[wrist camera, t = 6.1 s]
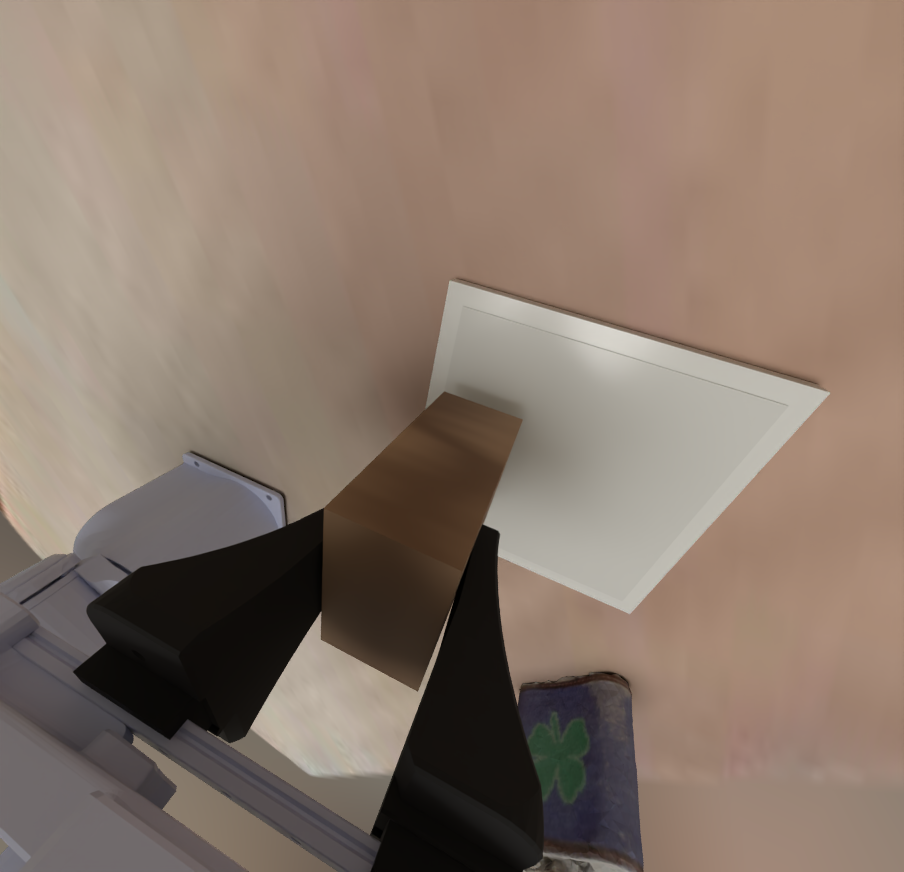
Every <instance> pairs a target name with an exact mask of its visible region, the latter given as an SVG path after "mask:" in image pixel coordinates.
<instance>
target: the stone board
mask: <svg viewBox="0 0 904 872" xmlns="http://www.w3.org/2000/svg"><path fill="white" fill-rule="evenodd" d="M444 391H445V392H448V393H450V394H453V395H456V396H459V397H462V398H464V399H467V400H470V401H473V402H475V403H478V404H481V405H484V406H487V407H489V408H492V409H495V410H498V411H501V412H503V413H506V414H509V415H512V416H514V417H517V418H520V419H523V421H522V424H521V426H520V429H519V431H518V434H517V437H516V439H515V442H514V445H513V447H512V450H511V453H510V455H509V458H508V461H507V463H506V466H505V469H504V471H503V474H502V477H501V479H500V482H499V484H498V487H497V490H496V492H495V495H494V498H493V500H492V503H491V506H490V508H489V511H488V514H487V516H486V519H485V522H484V524H483V525H486V526H488V527H490V528H493V529H495V530H498V531H499V533H500V539H499V546H498V556H499V557H501V558H503V559H505V560H508V561H510V562H512V563H514V564H517V565H519V566H521V567H524V568H526V569H528V570H530V571H533V572H535V573H537V574H540V575H542V576H544V577H546V578H549V579H551V580H553V581H556V582H558V583H560V584H562V585H565V586H567V587H569V588H572V589H574V590H576V591H578V592H581V593H583V594H585V595H588V596H590V597H592V598H594V599H597V600H599V601H601V602H604V603H606V604H608V605H610V606H613V607H615V608H617V609H619V610H622V611H624V612H626V613H629V614H630V613H631V612H632V611H633V610H634V609H635V608H636V607H637V606H638V604H639V603H640V602H641V601H642V600H643V599H644V598H645V597H646V596H647V595H648V593H649V592H650V591H651V590H652V589H653V588H654V587H655V586H656V585H657V584H658V582H659V581H660V580H661V579H662V578H663V577H664V576H665V575H666V574H667V573H668V571H669V570H670V569H671V568H672V567H673V566H674V565H675V564H676V563H677V561H678V560H679V559H680V558H681V557H682V556H683V555H684V554H685V553H686V552H687V550H688V549H689V548H690V547H691V546H692V545H693V544H694V543H695V542H696V541H697V539H698V538H699V537H700V536H701V535H702V534H703V533H704V532H705V531H706V530H707V528H708V527H709V526H710V525H711V524H712V523H713V522H714V521H715V520H716V519H717V517H718V516H719V515H720V514H721V513H722V512H723V511H724V510H725V509H726V508H727V506H728V505H729V504H730V503H731V502H732V501H733V500H734V499H735V498H736V496H737V495H738V494H739V493H740V492H741V491H742V490H743V489H744V488H745V487H746V485H747V484H748V483H749V482H750V481H751V480H752V479H753V478H754V477H755V476H756V474H757V473H758V472H759V471H760V470H761V469H762V468H763V467H764V466H765V465H766V463H767V462H768V461H769V460H770V459H771V458H772V457H773V456H774V455H775V454H776V452H777V451H778V450H779V449H780V448H781V447H782V446H783V445H784V444H785V442H786V441H787V440H788V439H789V438H790V437H791V436H792V435H793V434H794V433H795V431H796V430H797V429H798V428H799V427H800V426H801V425H802V424H803V423H804V422H805V420H806V419H807V418H808V417H809V416H810V415H811V414H812V413H813V412H814V411H815V409H816V408H817V407H818V406H819V405H820V404H821V403H822V402H823V401H824V400H825V398H826V397H827V396H828V395H829V394H830V392H829V391H827V390H826V389H824V388H823V387H821V386H820V385H818V384H814V383H811V382H808V381H804V380H801V379H797V378H794V377H791V376H787V375H784V374H780V373H777V372H774V371H770V370H767V369H763V368H760V367H756V366H753V365H750V364H746V363H743V362H739V361H736V360H733V359H729V358H726V357H722V356H719V355H715V354H712V353H709V352H705V351H702V350H698V349H695V348H692V347H688V346H685V345H681V344H678V343H675V342H671V341H668V340H664V339H661V338H657V337H654V336H651V335H647V334H644V333H640V332H637V331H634V330H630V329H627V328H623V327H620V326H617V325H613V324H610V323H606V322H603V321H599V320H596V319H593V318H589V317H586V316H582V315H579V314H576V313H572V312H569V311H565V310H562V309H559V308H555V307H552V306H548V305H545V304H541V303H538V302H535V301H531V300H528V299H524V298H521V297H518V296H514V295H511V294H507V293H504V292H501V291H497V290H494V289H490V288H487V287H483V286H480V285H477V284H473V283H470V282H466V281H463V280H460V279H453V280H450V281H449V287H448V292H447V297H446V302H445V308H444V313H443V318H442V324H441V329H440V334H439V339H438V345H437V350H436V355H435V360H434V366H433V371H432V376H431V381H430V387H429V392H428V397H427V402H426V408H425V410H426V409H427V408H428V407H429V406H430V405H431V404H432V403H433V402H434V401H435V400H436V399H437V398H438V397H439V396H440V395H441V394H442V393H443V392H444Z"/></svg>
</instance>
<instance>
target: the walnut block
mask: <svg viewBox="0 0 904 872" xmlns="http://www.w3.org/2000/svg"><path fill="white" fill-rule="evenodd" d="M522 421H523V419H520V418H517V417H514V416H512V415H509V414H506V413H503V412H501V411H498V410H495V409H492V408H489V407H487V406H484V405H481V404H478V403H475V402H473V401H470V400H467V399H464V398H462V397H459V396H456V395H453V394H450V393H448V392H445V391H444V392H443V393H442V394H441V395H440V396H439V397H438V398H437V399H436V400H435V401H434V402H433V403H432V404H431V405H430V406H429V407H428V408H427V409H426V410H425V411H423V412H422V413H421V414H420V415H419V416H418V417H417V418H416V419H415V420H414V421H413V422H412V423H411V424H410V425H409V426H408V427H407V428H406V429H405V430H404V431H403V432H402V433H401V434H400V435H399V436H398V437H397V438H396V439H395V440H394V441H393V442H392V443H391V444H389V445H388V446H387V447H386V448H385V449H384V450H383V451H382V452H381V453H380V454H379V455H378V456H377V457H376V458H375V459H374V460H373V461H372V462H371V463H370V464H369V465H368V466H367V467H366V468H365V469H364V470H363V471H362V472H361V473H360V474H359V475H358V476H357V477H355V478H354V479H353V480H352V481H351V482H350V483H349V484H348V485H347V486H346V487H345V488H344V489H343V490H342V491H341V492H340V493H339V494H338V495H337V496H336V497H335V498H334V499H333V500H332V501H331V502H330V503H329V504H328V505H327V506H326V507H325V508H324V523H323V568H322V614H321V640H323V641H325V642H327V643H328V644H330V645H332V646H334V647H336V648H338V649H340V650H342V651H343V652H345V653H347V654H349V655H351V656H353V657H355V658H356V659H358V660H360V661H362V662H364V663H366V664H368V665H369V666H371V667H373V668H375V669H377V670H379V671H381V672H382V673H384V674H386V675H388V676H390V677H392V678H394V679H396V680H397V681H399V682H401V683H403V684H405V685H407V686H409V687H410V688H412V689H414V690H416V691H418V690H419V687H420V685H421V682H422V680H423V677H424V675H425V672H426V670H427V667H428V665H429V662H430V660H431V657H432V654H433V652H434V649H435V647H436V644H437V642H438V639H439V636H440V634H441V631H442V629H443V626H444V624H445V621H446V619H447V616H448V613H449V611H450V608H451V606H452V603H453V601H454V598H455V595H456V592H457V589H458V586H459V584H460V581H461V578H462V576H463V573H464V570H465V568H466V565H467V562H468V560H469V557H470V554H471V552H472V549H473V546H474V544H475V541H476V539H477V536H478V534H479V531H480V529H481V526H482V524H484V522H485V519H486V516H487V514H488V511H489V508H490V506H491V503H492V500H493V498H494V495H495V492H496V490H497V487H498V484H499V482H500V479H501V477H502V474H503V471H504V469H505V466H506V463H507V461H508V458H509V455H510V453H511V450H512V447H513V445H514V442H515V439H516V437H517V434H518V431H519V429H520V426H521V424H522Z"/></svg>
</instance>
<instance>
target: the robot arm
mask: <svg viewBox="0 0 904 872" xmlns="http://www.w3.org/2000/svg"><path fill="white" fill-rule="evenodd" d="M182 457H183V461H184V463H183V464H182V465H180V466H178V467H176V468H174V469H172V470H171V471H169V472H167V473H165V474H163V475H161V476H160V477H158V478H156V479H154V480H152V481H150V482H149V483H147V484H145V485H143V486H141V487H139V488H138V489H136V490H134V491H132V492H130V493H128V494H127V495H125V496H123V497H121V498H119V499H117V500H116V501H114V502H112V503H110V504H108V505H107V506H105V507H104V508H102V509H101V510H100V511H98V512H97V513H96V514H95V515H93V516H92V517H91V518H90V519H89V520H88V521H87V522H86V524H85V525H84V526H83V527H82V528H81V530H80V531H79V533H78V535H77V536H76V539H75V542H74V548H73V553H70V554H68V555H66V554H54V555H51V556H49V557H47V558H45V559H44V560H42V561H40V562H38V563H36V564H34V565H32V566H31V567H29V568H27V569H25V570H23V571H22V572H20V573H18V574H16V575H14V576H13V577H11V578H9V579H7V580H6V581H4V582H2V583H0V838H1V839H2V840H3V841H4V842H5V843H6V844H7V845H8V847H7V848H6V849H5V850H4V852H3V853H2V854H1V855H0V872H249V871H248V870H246V869H245V868H243V867H242V866H241V865H239V864H238V863H237V862H235V861H234V860H232V859H231V858H230V857H228V856H227V855H225V854H224V853H223V852H221V851H220V850H218V849H217V848H216V847H214V846H213V845H211V844H210V843H209V842H207V841H206V840H204V839H203V838H202V837H200V836H199V835H197V834H196V833H194V832H193V831H192V830H190V829H189V828H187V827H186V826H185V825H183V824H182V823H180V822H179V821H178V820H176V819H175V818H173V817H172V816H170V815H169V814H168V813H166V812H165V811H163V810H162V809H163V808H164V806H165V805H166V804H167V802H168V801H169V800H170V798H171V797H172V796H173V795H174V793H175V792H176V787H177V786H176V785H175V784H174V783H173V782H172V781H170V780H169V779H168V778H167V777H166V776H165V775H164V774H163V773H162V772H161V771H160V769H158V767H157V765H156V763H155V762H154V761H153V760H151V759H150V758H149V757H147V756H146V755H145V754H143V753H142V752H141V751H139V750H138V749H137V748H136V747H134V746H133V745H132V743H133V734H134V735H135V736H137V737H138V738H140V739H141V740H142V741H144V742H146V743H147V744H148V745H150V746H151V747H153V748H155V749H156V750H157V751H159V752H160V753H162V754H163V755H165V756H166V757H168V758H169V759H171V760H172V761H174V762H175V763H177V764H178V765H180V766H181V767H183V768H184V769H186V770H187V771H189V772H190V773H192V774H193V775H195V776H196V777H198V778H199V779H201V780H202V781H204V782H205V783H207V784H208V785H210V786H211V787H213V788H214V789H215V790H217V791H218V792H220V793H221V794H223V795H225V796H226V797H227V798H229V799H230V800H232V801H233V802H235V803H237V804H238V805H239V806H241V807H242V808H244V809H245V810H247V811H248V812H250V813H251V814H253V815H254V816H256V817H257V818H259V819H260V820H262V821H263V822H265V823H266V824H268V825H269V826H271V827H272V828H274V829H275V830H277V831H278V832H280V833H281V834H283V835H284V836H286V837H287V838H289V839H290V840H291V841H293V842H294V843H296V844H298V845H299V846H301V847H302V848H303V849H305V850H306V851H308V852H309V853H311V854H312V855H314V856H315V857H317V858H318V859H320V860H321V861H323V862H324V863H326V864H327V865H329V866H330V867H332V868H333V869H335V870H336V871H338V872H523V870H525V869H527V868H530V867H532V866H535V865H536V864H537V863H539V862H540V861H541V860H542V859H543V849H544V813H543V800H542V789H541V783H540V780H539V777H538V774H537V771H536V768H535V765H534V762H533V759H532V755H531V752H530V749H529V745H528V742H527V739H526V735H525V732H524V728H523V725H522V721H521V717H520V714H519V710H518V706H517V702H516V698H515V693H514V689H513V685H512V681H511V677H510V672H509V667H508V662H507V657H506V652H505V646H504V640H503V633H502V626H501V618H500V608H499V596H498V575H497V565H498V546H499V539H500V533H499V531H498V530H495V529H493V528H490V527H488V526H486V525H483V524H482V526H481V529H480V531H479V534H478V536H477V539H476V541H475V544H474V546H473V549H472V552H471V554H470V557H469V560H468V562H467V565H466V568H465V570H464V573H463V576H462V578H461V581H460V584H459V586H458V589H457V592H456V595H455V598H454V602H453V605H452V609H451V612H450V615H449V619H448V622H447V626H446V629H445V633H444V636H443V640H442V643H441V647H440V650H439V653H438V656H437V659H436V662H435V665H434V668H433V670H432V673H431V676H430V678H429V681H428V684H427V686H426V689H425V692H424V694H423V697H422V699H421V702H420V705H419V707H418V710H417V713H416V715H415V718H414V721H413V723H412V726H411V728H410V731H409V734H408V736H407V739H406V742H405V744H404V747H403V750H402V752H401V755H400V758H399V760H398V763H397V765H396V768H395V771H394V773H393V776H392V779H391V782H390V784H389V787H388V789H387V792H386V794H385V797H384V800H383V802H382V805H381V808H380V810H379V813H378V815H377V818H376V821H375V824H374V826H373V829H372V831H371V834H370V835H368V834H367V833H365V832H364V831H362V830H361V829H359V828H358V827H356V826H354V825H353V824H351V823H350V822H348V821H347V820H345V819H343V818H342V817H340V816H339V815H337V814H336V813H334V812H332V811H331V810H329V809H328V808H326V807H325V806H323V805H321V804H320V803H318V802H317V801H315V800H314V799H312V798H310V797H309V796H307V795H306V794H304V793H303V792H301V791H299V790H298V789H296V788H295V787H293V786H291V785H290V784H288V783H287V782H285V781H284V780H282V779H281V778H279V777H277V776H276V775H274V774H273V773H271V772H270V771H268V770H267V769H265V768H263V767H261V766H260V765H259V764H257V763H256V762H254V761H252V760H251V759H249V758H248V757H246V756H245V755H242V754H241V753H240V752H238V751H237V750H235V749H234V748H232V747H230V746H229V745H227V744H226V743H224V742H223V741H221V740H219V739H218V738H216V737H215V736H213V735H212V734H210V733H208V732H207V730H208V731H210V732H211V733H213V734H214V735H216V736H219V737H221V738H222V739H224V740H225V741H227V742H228V743H231V742H235V741H237V740H240V739H241V738H243V737H245V736H246V734H247V732H248V730H249V729H250V727H251V725H252V723H253V722H254V720H255V718H256V717H257V715H258V713H259V711H260V710H261V708H262V706H263V704H264V703H265V701H266V699H267V697H268V696H269V694H270V692H271V691H272V689H273V687H274V686H275V684H276V682H277V681H278V679H279V677H280V676H281V674H282V672H283V671H284V669H285V667H286V666H287V664H288V662H289V661H290V659H291V657H292V656H293V654H294V653H295V651H296V650H297V648H298V646H299V645H300V643H301V642H302V640H303V638H304V637H305V635H306V634H307V632H308V630H309V629H310V627H311V626H312V624H313V623H314V621H315V620H316V618H317V617H318V615H319V614H320V612H321V611H322V568H323V523H324V508H323V509H321V510H319V511H317V512H315V513H312V514H310V515H308V516H306V517H304V518H302V519H300V520H298V521H296V522H293V523H291V524H289V525H287V526H286V524H285V512H284V500H283V497H282V496H281V495H280V494H279V493H277V492H275V491H273V490H271V489H268V488H266V487H264V486H262V485H260V484H258V483H255V482H253V481H251V480H249V479H247V478H245V477H242V476H240V475H238V474H236V473H234V472H231V471H229V470H227V469H225V468H223V467H221V466H218V465H216V464H214V463H212V462H210V461H207V460H205V459H203V458H201V457H199V456H197V455H194V454H192V453H190V452H187V453H185V454H183V456H182Z"/></svg>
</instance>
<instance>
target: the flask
mask: <svg viewBox="0 0 904 872" xmlns="http://www.w3.org/2000/svg"><path fill="white" fill-rule="evenodd" d="M589 675H590V676H589V677H588V676H583V677H582V676H581V677H578V676H577V677H574V676H572V677H565V678H561V679H560V680H558V681H557V682H551V681H549V680H548V681H547V682H545V683H537V682H536V683H532V684H525V683H524V684H522V686H521V689H519V690H520V694H519V701H518V710H519V714H520V717H521V721H522V725H523V728H524V732H525V735H526V739H527V742H528V745H529V749H530V752H531V755H532V759H533V762H534V765H535V768H536V771H537V774H538V777H539V780H540V783H541V789H542V800H543V813H544V849H543V859H542V860H541V861H540V862H539V863H537V864H536V865H535V867H538V868H536V869H531V868H527V869H525V870H523V872H643V853H642V844H641V834H640V819H639V804H638V784H637V769H636V763H635V750H634V735H633V725H632V722H633V719H632V694H631V691H630V689H629V684H628V683H627V682H625V680H624V681H623V679H622V678H621V677H620V676H619V675H618V674H613V675H608V674H607V675H606V674H603V673H589Z"/></svg>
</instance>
